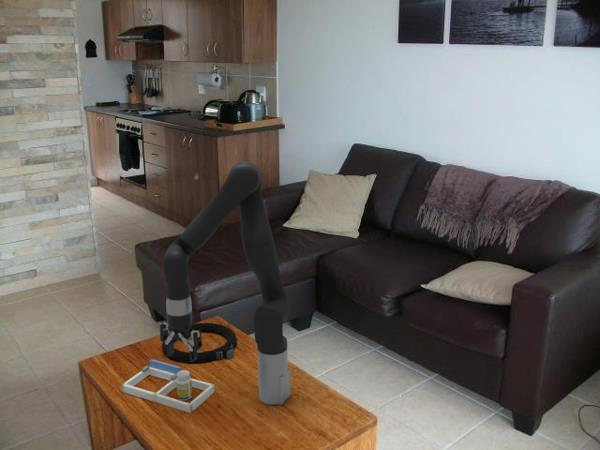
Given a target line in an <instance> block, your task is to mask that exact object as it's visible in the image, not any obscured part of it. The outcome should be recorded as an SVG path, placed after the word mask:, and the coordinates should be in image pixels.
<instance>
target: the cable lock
mask: <svg viewBox="0 0 600 450" xmlns="http://www.w3.org/2000/svg"><path fill="white" fill-rule="evenodd" d="M191 327H192V329H193V330H194V331H197V330H200V331H201V333H205V332H206V333H215V334H219V335H221V336H223V337H225V339H226V342H225V343H224V344H223V345H220V346H218V347H217V348H214V349H212V350H211V349H210V350H206V351H200V352H197V359H196V360H194V361H193V362H191V361H190V351H189V352H188V351H184V350H183V351H182V350H178V348H177V349H176V348H175V347H174V353H173V354H172V355H171V356H170V355H168V353H167V347H166V344H165V342H164V341H163V342H162V344H161V347H162V351H163V352H164V354H165V355H166V357H169V358H170V359H172V360H174V361H175V360H176V361H178V362H184V363H206V362H211V361H213V360H216V361H217V360H220V359H221V360H222V359H225V360H230V359H233V357H234V356H235V349H234V348H235V347H236V345H237V341H238V340H237V339H238V337H237V334H236V333H235V332H234V331H233V329H232V328H229V327H228V326H226V325H222V324H218V323H212V322H197V323H192V325H191ZM170 334H171V333H170V332H168V336H169V335H170ZM172 342H173V343H174V342H176V340H175V339H174V340H173V341H172Z"/></svg>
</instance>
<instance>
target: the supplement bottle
mask: <svg viewBox="0 0 600 450" xmlns="http://www.w3.org/2000/svg"><path fill="white" fill-rule="evenodd" d="M190 374H191V373H190V371H189V370H187V369H182V370H181V369H180V371H179V372H178V373H177V379H176V395H177V397H176V398H177V400H180V401H189V400H190V399H191V398H192V397H193V387H192V382H191V375H190Z"/></svg>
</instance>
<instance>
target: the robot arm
mask: <svg viewBox="0 0 600 450" xmlns="http://www.w3.org/2000/svg"><path fill="white" fill-rule="evenodd" d="M260 172H261V171H260V170H259V168H258V167H257V165H256V164H254V163H253V162H251V161H246V160H242V161H239V162H237V163H235V164H234V165H233V166H232V167H231V168H230V170H229V172H228V174H227V177H226V179H225V180H224V182H223V184H222V186H221V187H220V189H219V190H218V192H217V193H216V195H215V196H214V197H213V198H212V199H211V201H209V203H208V204H207V205H206V206H205V207H204V208H203V209H201V211H200V212H199V213H198V214H197V215H196V216H195V218H194V219H192V221H191V222H190V223H189V224H188V225H187V226H186V228H185V229H184V231H183V232H182V233H181V234H180V235H179V236H178V237H177V238H176V239H175V240H174V241H173V242H172V243H171V244H170V245H169V246H168V248H167V249H166V251H165V253H164V256H163V258H162V259H163V260H162V266H163V267H162V269H163V275H164V280H165V292H166V301H165V304H166V305H165V307H166V310H165V311H166V321H164V322H162V323H161V324H160V325H159V337H160V338H159V339H160V342H162V343H163V341H164V342H165V344H166V347H167V353H168V355H170V356H171V355H172V354H173V353H174V348H175V346H174V342H172V341H173V340H174V339H175V341H178V342H181V343H183V344H184V345H185V346H186V347H187V348H188V349H189V352H190V361H191V362H193V361H194V360H196V359H197V353H198V351H199V350H200V349H202V348H203V338H202V332H201V331H200V330H197V331H194V330H193V329H192V327H191V325H192V324H193V310H192V309H193V307H192V305H193V304H192V298H191V288H190V287H191V286H190V285H191V284H190V279H189V278H188V277H189V276H188V263H189V260H190V258H191V257H192V256H193V255H194V254H195V252H196V251H197V250H199V249H201V248H203V246H204V245H205V244H206V243H207V242H208V241H209V239H210V238H211V237H212V236H213V235H214V233H216V231H217V230H218V228H219V227H220V226H221V224H222V223H223V222H224V221H225V219H226V218H227V217H228V216H229V214H230V213H231V212H232V211H233V210H234V209H235V208H236V207H237V206H238V208H239V215H240V234H241V241H242V248H243V252H244V256H245V259H246V262H247V265H248V267H250V270H251V271H252V272H253V274H254V275H255V276H256V278H257V279H258V283H259V286H260V291H261V296H262V298H261V299H262V302H261V303H259V305H258V306H257V307H256V308H255V309H254V312H253V331H254V333H253V334H254V341H255V343H256V345H257V374H258V375H257V377H258V379H257V381H258V383H257V384H258V399H259V400H260V401H261V403H263V404H266V405H271V406H274V405H280V406H281V405H282V406H283V404H284V403H285V402H286V401H287V400H288V399H289V398H290V396H291V369H290V368H288V339H287V337H285V336H284V333H283V332H284V330H283V326H284V324H285V322H286V321H287V320H288V318H289V317H290V313H291V308H290V307H291V306H290V303H289V300H288V296H287V294H286V290H285V287H284V283H283V281H282V277H281V270H280V266H279V262H278V261H279V260H278V257H277V256H278V255H277V251H276V246H275V240H274V236H273V232H272V229H271V225H270V222H269V221H270V220H269V218H268V216H267V212H266V209H265V205H264V200H263V192H262V177H261V173H260ZM169 333H171V334H170V335H169V336H168V334H169Z"/></svg>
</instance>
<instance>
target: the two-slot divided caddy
mask: <svg viewBox="0 0 600 450" xmlns="http://www.w3.org/2000/svg"><path fill="white" fill-rule="evenodd" d="M149 364H150V365H145V366H143V367H142V368H141V370H140V372H138V373H136V374H135V375H134V376H132V377H131V378H129V379H127V380H126V381H125V382H124V383H122V384H121V393H122V392H123V393H125V394H128V395H130V396H131V395H132V396H134V397H138V398H141V399H143V400H144V399H145V400H148V401H151V402H154V403H157V404H159V405H160V404H161V405H164V406H166V407H170V408H173V409H175V410H176V409H177V410H178V411H183V412H186V413H190V414H191V413H193V412H194V411H195V410H196V409H197V408H199V406H201V405H202V404H203V403H205V401H206V400H207V399H208V398H210V397H211V396H212V395H213V394H215V392H216V391H215V390H216V386H215V385H216V384H213V383H209V382H207V381H203V380H199V379H195V378H191V382H192V389H193V388H194V389H198V390H201V391H202V392H201V393H200V394H198V395H197V396H196V397H195V398H194V399H192V401H190V403H189V402H186V401H184V400H179V399H178V398H177V399H176V398H173V397H169V396H167V395H168V394H170V393H171V392H172V391H173V390H174V389H177V387H176V379H177V373H178V372H179V371H181V366H178V365H176V364H175V365H174V364H170V363H167V362H163V361H160V360H155V359H150V360H149ZM148 376H152V377H155V378H158V379H163V380H166V381H169V382H168V383H167V384H166V385H164V386H163V387H161V388H160V389H158V391H156V392H153V391H150V390H147V389H144V388H140V387H137V386H136V385H137V384H138V383H140V382H141V381H143V380H144V379H145V378H148Z"/></svg>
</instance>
